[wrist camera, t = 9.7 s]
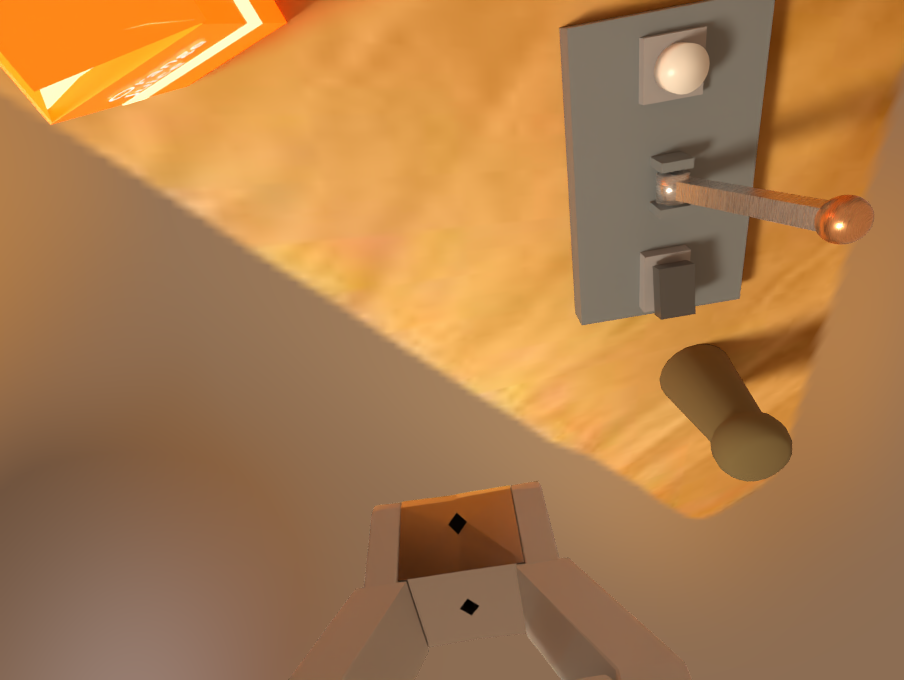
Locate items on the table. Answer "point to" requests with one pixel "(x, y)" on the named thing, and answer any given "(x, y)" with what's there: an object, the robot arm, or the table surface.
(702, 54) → the push button
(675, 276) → the rocker switch
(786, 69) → the table surface
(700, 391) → the brown pawn
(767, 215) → the copper ball joystick
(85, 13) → the orange juice
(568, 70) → the control panel
